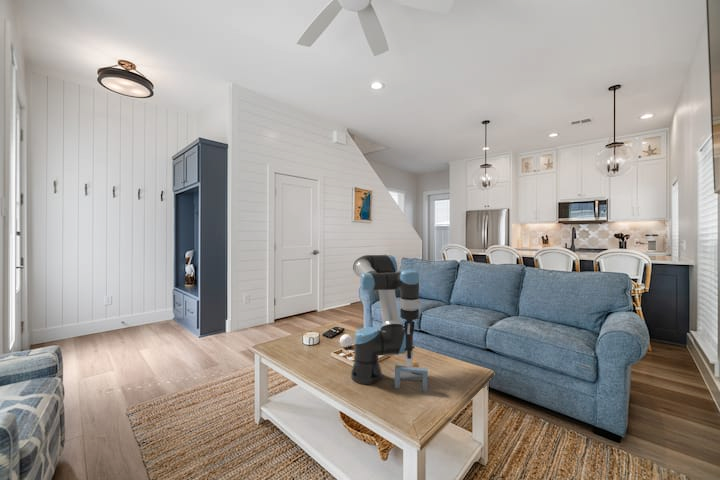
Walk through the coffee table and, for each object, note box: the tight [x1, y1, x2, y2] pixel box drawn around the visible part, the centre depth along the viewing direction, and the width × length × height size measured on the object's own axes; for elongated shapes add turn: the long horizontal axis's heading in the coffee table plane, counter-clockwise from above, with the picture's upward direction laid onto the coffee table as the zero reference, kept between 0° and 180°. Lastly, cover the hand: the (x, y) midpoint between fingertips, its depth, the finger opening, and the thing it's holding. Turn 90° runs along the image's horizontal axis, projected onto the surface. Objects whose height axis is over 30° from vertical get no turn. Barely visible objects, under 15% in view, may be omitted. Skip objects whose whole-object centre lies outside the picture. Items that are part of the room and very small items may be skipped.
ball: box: [409, 360, 420, 367], centre depth 157 cm, size 6×6×6 cm
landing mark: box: [400, 371, 423, 382], centre depth 155 cm, size 13×13×1 cm
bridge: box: [394, 364, 429, 392], centre depth 141 cm, size 3×14×9 cm, turn 77°
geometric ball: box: [339, 333, 353, 348], centre depth 190 cm, size 8×8×8 cm
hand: (409, 364), depth 128 cm, fingers closed
